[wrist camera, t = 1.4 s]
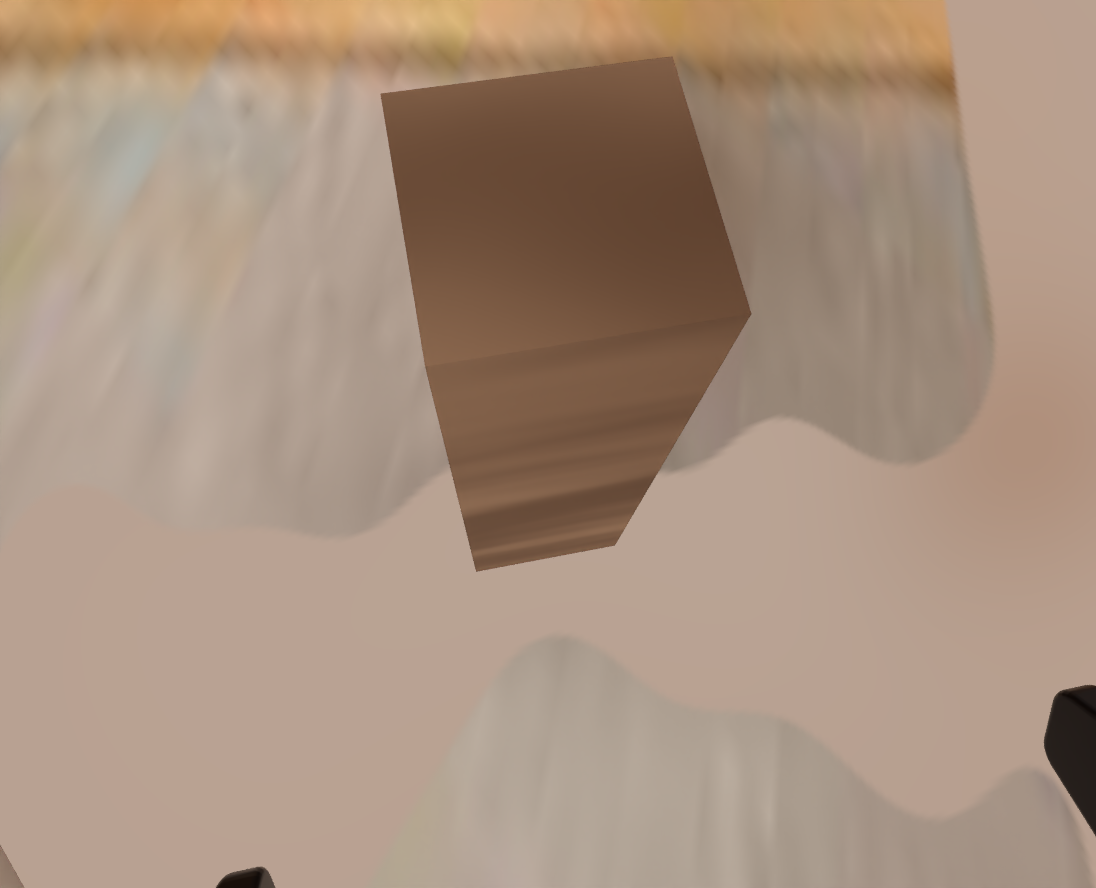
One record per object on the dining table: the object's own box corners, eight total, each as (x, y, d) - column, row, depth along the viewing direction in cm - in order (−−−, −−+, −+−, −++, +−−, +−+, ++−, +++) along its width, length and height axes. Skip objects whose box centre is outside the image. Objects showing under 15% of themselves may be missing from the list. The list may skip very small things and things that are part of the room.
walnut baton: (614, 545, 23) (751, 312, 10) (476, 571, 23) (425, 366, 10) (585, 416, 24) (672, 56, 11) (453, 439, 24) (381, 94, 11)
